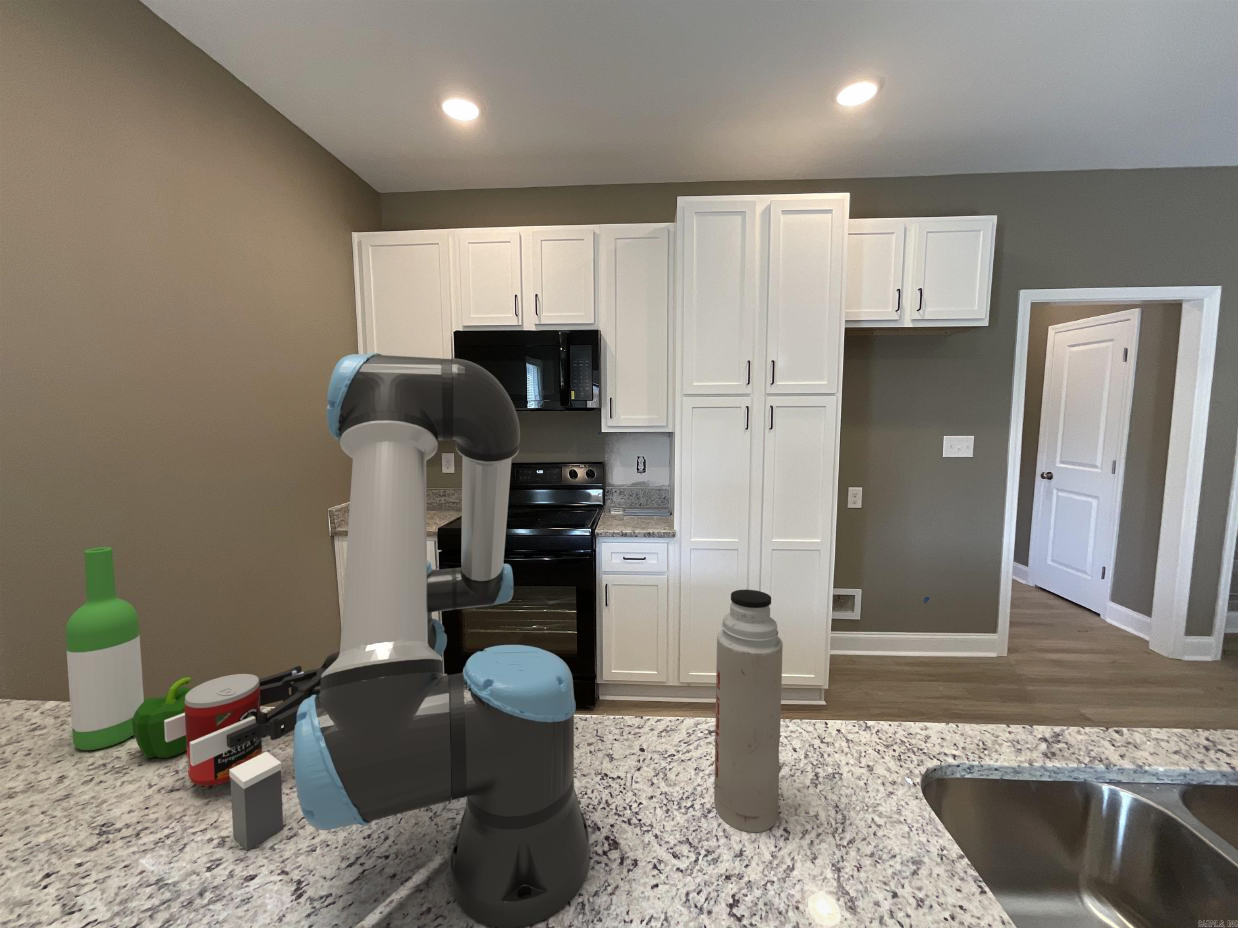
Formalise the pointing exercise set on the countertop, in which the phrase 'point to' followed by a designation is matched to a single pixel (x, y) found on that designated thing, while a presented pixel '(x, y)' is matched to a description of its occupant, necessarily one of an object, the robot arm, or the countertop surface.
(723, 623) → the thermos bottle
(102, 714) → the wine bottle
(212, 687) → the canned food
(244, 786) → the toggle
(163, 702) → the bell pepper
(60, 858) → the countertop surface
